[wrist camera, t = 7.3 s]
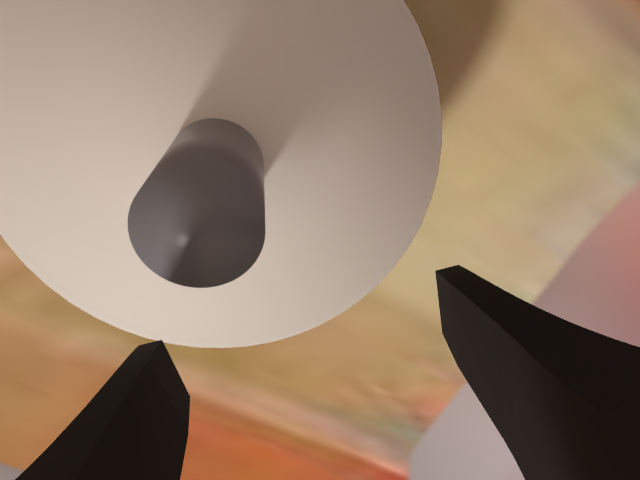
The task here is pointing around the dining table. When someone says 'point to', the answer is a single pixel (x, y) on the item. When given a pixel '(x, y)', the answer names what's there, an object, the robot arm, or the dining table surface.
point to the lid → (214, 158)
